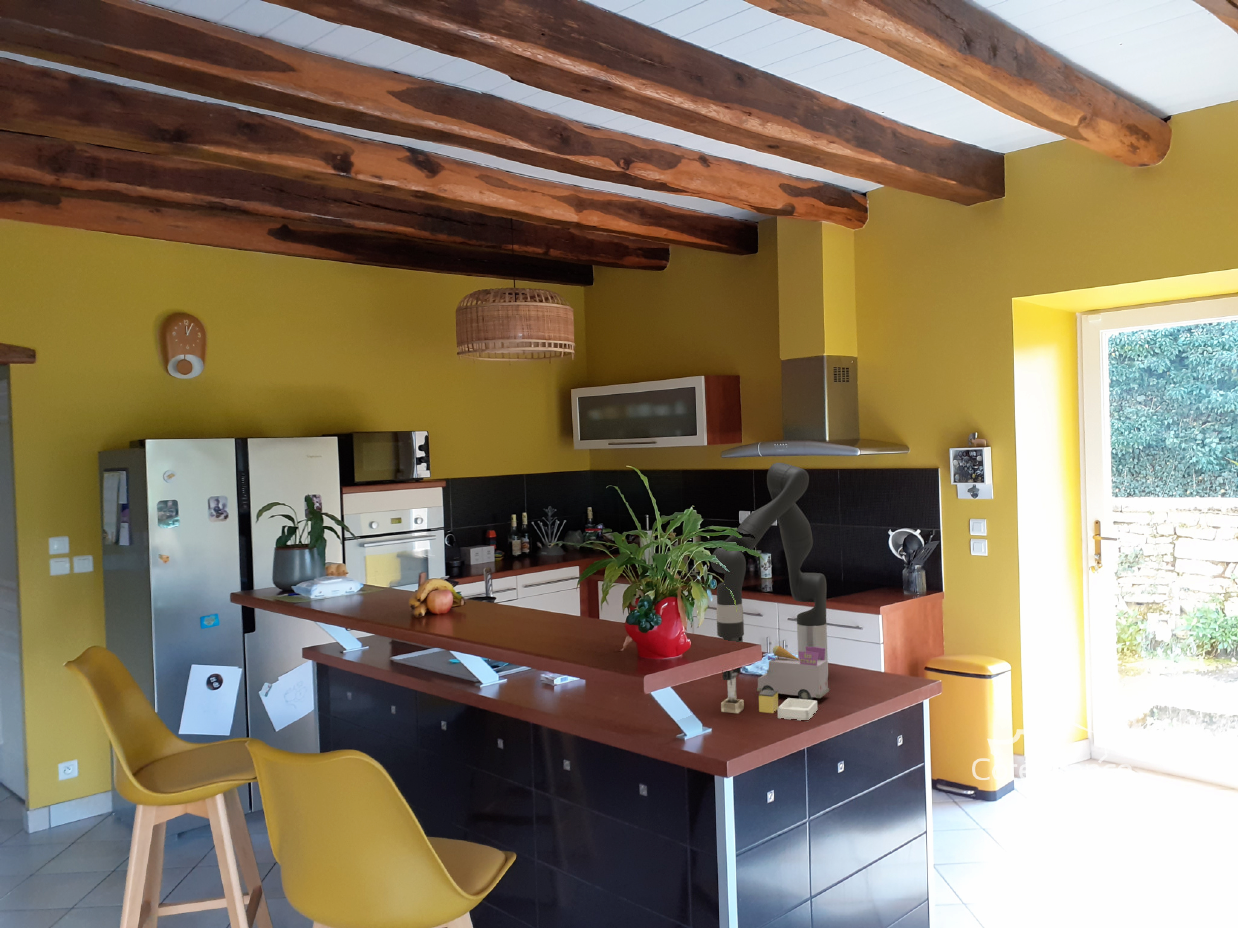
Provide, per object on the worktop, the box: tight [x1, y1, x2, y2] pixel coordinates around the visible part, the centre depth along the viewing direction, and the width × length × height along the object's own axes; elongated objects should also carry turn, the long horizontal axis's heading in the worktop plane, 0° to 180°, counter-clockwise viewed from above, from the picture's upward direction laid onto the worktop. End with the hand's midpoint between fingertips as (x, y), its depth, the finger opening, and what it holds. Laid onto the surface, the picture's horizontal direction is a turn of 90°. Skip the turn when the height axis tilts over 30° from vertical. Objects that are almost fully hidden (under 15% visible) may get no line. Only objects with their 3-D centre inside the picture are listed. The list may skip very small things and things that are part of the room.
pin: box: [726, 670, 738, 704], centre depth 263 cm, size 3×3×11 cm
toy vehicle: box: [756, 645, 830, 700], centre depth 274 cm, size 9×20×15 cm, turn 59°
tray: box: [777, 697, 819, 721], centre depth 257 cm, size 10×8×3 cm
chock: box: [758, 690, 779, 714], centre depth 262 cm, size 5×4×5 cm
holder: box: [720, 697, 745, 714], centre depth 263 cm, size 5×5×2 cm
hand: (731, 676), depth 263 cm, fingers open, 8 cm apart
